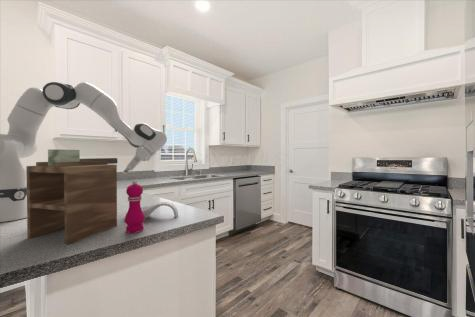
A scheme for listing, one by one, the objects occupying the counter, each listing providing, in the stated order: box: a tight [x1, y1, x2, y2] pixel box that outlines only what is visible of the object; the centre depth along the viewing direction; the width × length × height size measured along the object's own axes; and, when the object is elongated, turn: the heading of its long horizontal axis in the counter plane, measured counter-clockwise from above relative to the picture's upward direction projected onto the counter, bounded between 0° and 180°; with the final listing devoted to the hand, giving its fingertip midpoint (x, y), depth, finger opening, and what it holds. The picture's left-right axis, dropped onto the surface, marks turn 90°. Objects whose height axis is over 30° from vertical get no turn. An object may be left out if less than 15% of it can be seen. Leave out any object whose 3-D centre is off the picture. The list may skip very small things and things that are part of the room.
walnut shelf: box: [25, 161, 118, 245], centre depth 84 cm, size 20×20×28 cm
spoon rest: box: [125, 201, 179, 219], centre depth 104 cm, size 24×12×7 cm, turn 98°
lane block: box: [47, 149, 118, 166], centre depth 90 cm, size 6×26×6 cm, turn 164°
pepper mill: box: [124, 179, 146, 234], centre depth 86 cm, size 7×7×20 cm
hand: (126, 170), depth 109 cm, fingers open, 8 cm apart
